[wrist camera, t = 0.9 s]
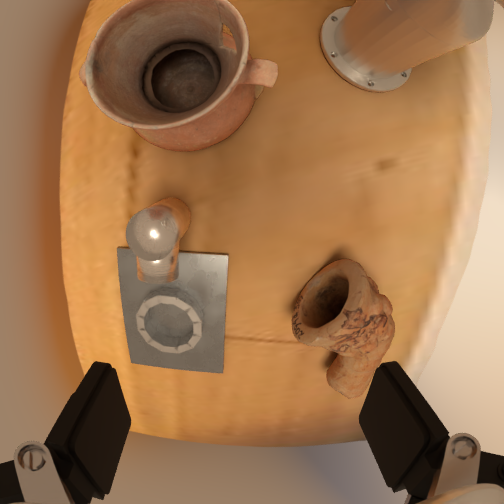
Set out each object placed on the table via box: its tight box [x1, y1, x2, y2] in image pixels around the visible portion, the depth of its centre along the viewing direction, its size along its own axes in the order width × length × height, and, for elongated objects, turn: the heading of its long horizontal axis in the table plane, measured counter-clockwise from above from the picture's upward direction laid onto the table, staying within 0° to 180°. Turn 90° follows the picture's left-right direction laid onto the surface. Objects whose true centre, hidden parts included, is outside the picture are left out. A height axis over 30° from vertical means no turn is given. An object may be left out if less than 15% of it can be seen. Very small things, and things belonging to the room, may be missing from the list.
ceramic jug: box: [79, 0, 278, 151], centre depth 22 cm, size 18×14×14 cm
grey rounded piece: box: [126, 198, 191, 284], centre depth 29 cm, size 7×5×8 cm, turn 175°
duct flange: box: [117, 247, 228, 373], centre depth 36 cm, size 18×14×3 cm
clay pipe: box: [292, 259, 395, 399], centre depth 34 cm, size 19×11×15 cm
